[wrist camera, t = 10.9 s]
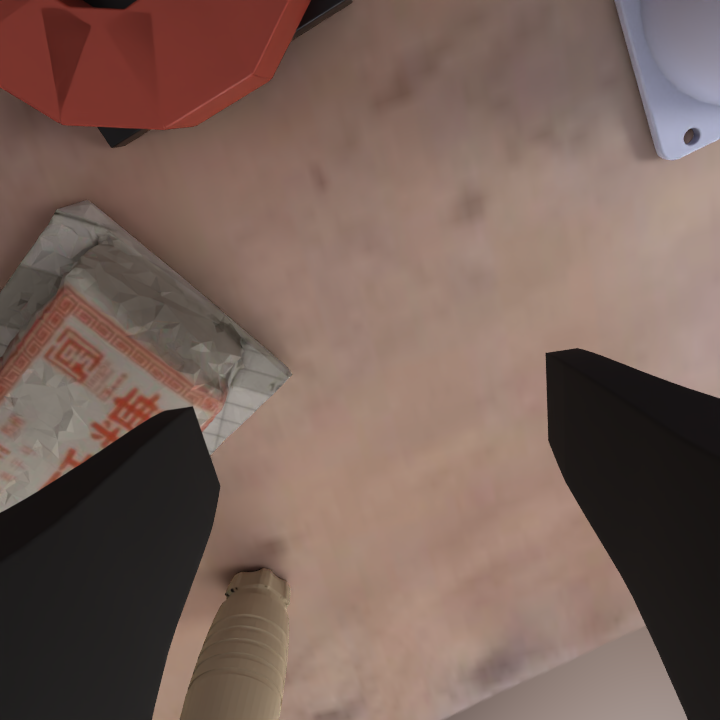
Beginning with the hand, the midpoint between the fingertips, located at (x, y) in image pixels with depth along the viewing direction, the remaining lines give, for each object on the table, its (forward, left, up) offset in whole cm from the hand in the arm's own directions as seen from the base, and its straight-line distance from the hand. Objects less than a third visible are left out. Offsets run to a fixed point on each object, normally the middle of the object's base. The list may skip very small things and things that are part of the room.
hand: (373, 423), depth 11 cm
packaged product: (+15, 0, -11) cm, 18 cm away
